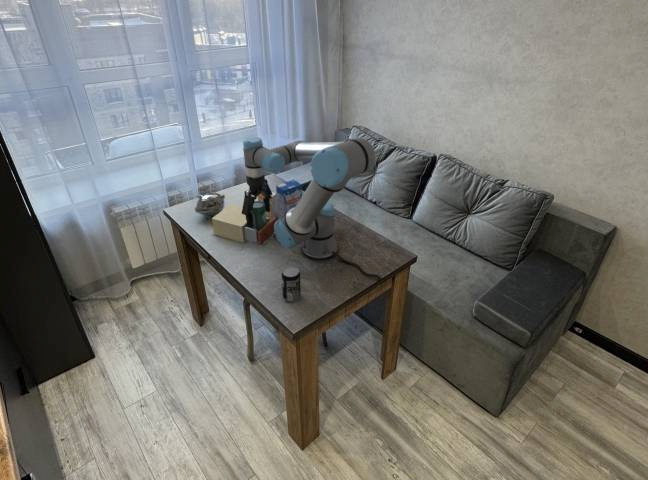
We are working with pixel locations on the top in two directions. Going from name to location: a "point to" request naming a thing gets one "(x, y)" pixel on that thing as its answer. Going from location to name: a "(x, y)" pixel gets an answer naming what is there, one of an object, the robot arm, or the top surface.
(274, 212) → the supplement box
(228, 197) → the top surface
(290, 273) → the beverage can
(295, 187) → the milk carton
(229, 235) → the beige cardboard box
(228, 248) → the top surface
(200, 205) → the piggy bank
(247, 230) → the drawer
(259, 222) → the can
